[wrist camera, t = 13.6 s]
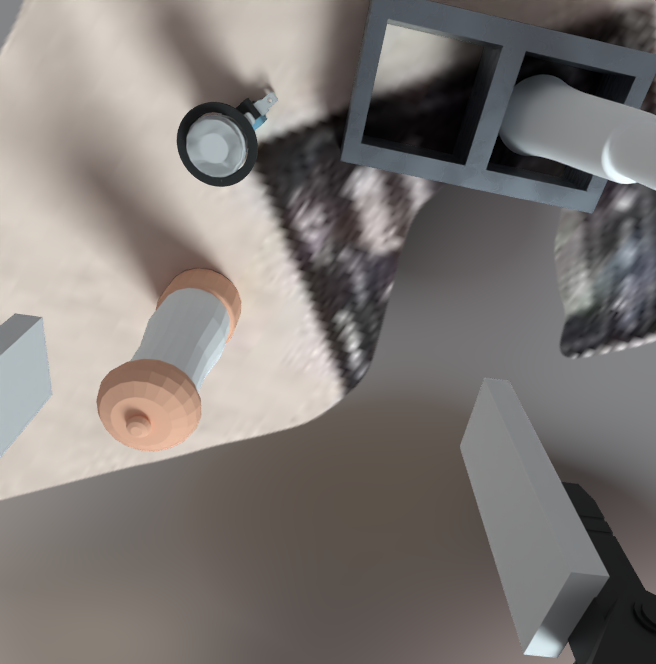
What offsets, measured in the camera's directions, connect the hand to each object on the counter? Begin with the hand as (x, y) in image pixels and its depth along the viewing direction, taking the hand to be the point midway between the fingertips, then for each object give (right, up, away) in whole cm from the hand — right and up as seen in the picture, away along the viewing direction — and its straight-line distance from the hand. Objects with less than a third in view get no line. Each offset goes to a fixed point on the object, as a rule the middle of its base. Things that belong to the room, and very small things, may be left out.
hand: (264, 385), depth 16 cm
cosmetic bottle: (+19, +19, +26) cm, 37 cm away
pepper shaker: (-10, +5, +35) cm, 36 cm away
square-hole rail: (+14, +20, +26) cm, 35 cm away
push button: (-5, +19, +27) cm, 33 cm away
